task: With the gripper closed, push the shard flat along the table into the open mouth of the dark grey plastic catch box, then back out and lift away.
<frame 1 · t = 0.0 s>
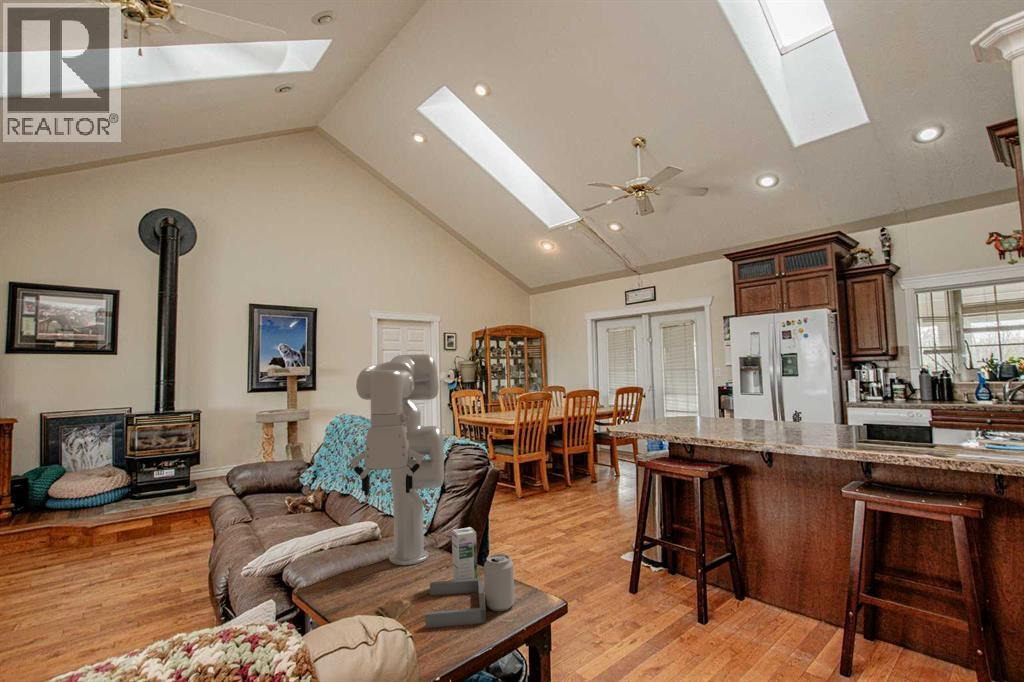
hand: (387, 493, 116), 31 cm above the table, tool pointing down, fingers open, 9 cm apart
syrup box: (465, 582, 138), on the table
can: (499, 606, 123), on the table
shard: (397, 615, 121), on the table
catch box: (449, 607, 123), on the table
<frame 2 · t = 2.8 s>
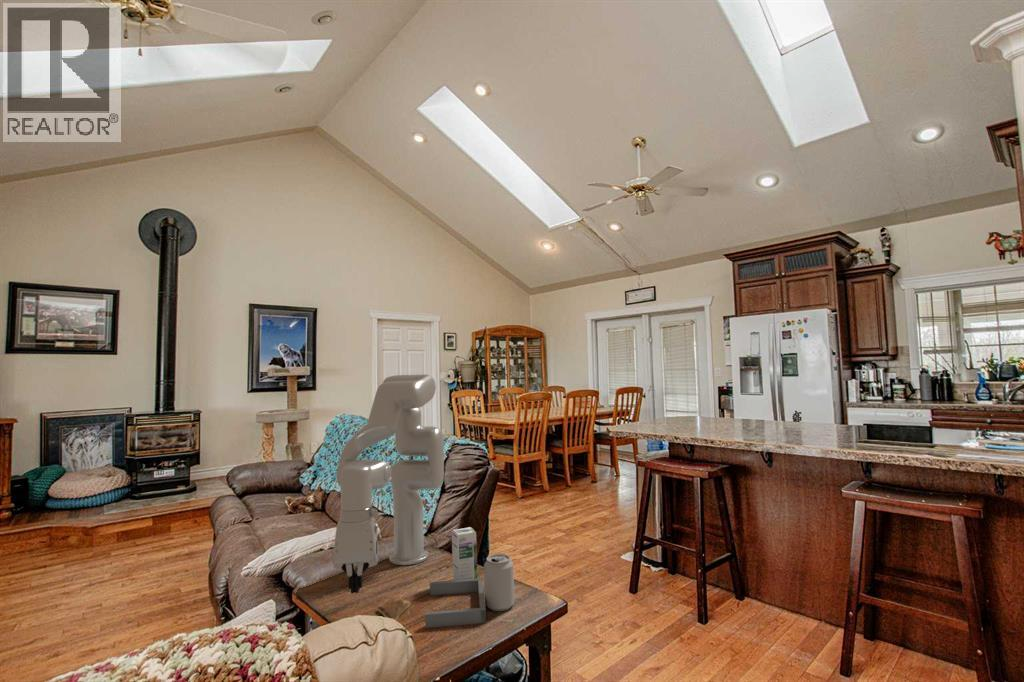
hand: (355, 590, 120), 6 cm above the table, tool pointing down, fingers closed
nothing on the table moved.
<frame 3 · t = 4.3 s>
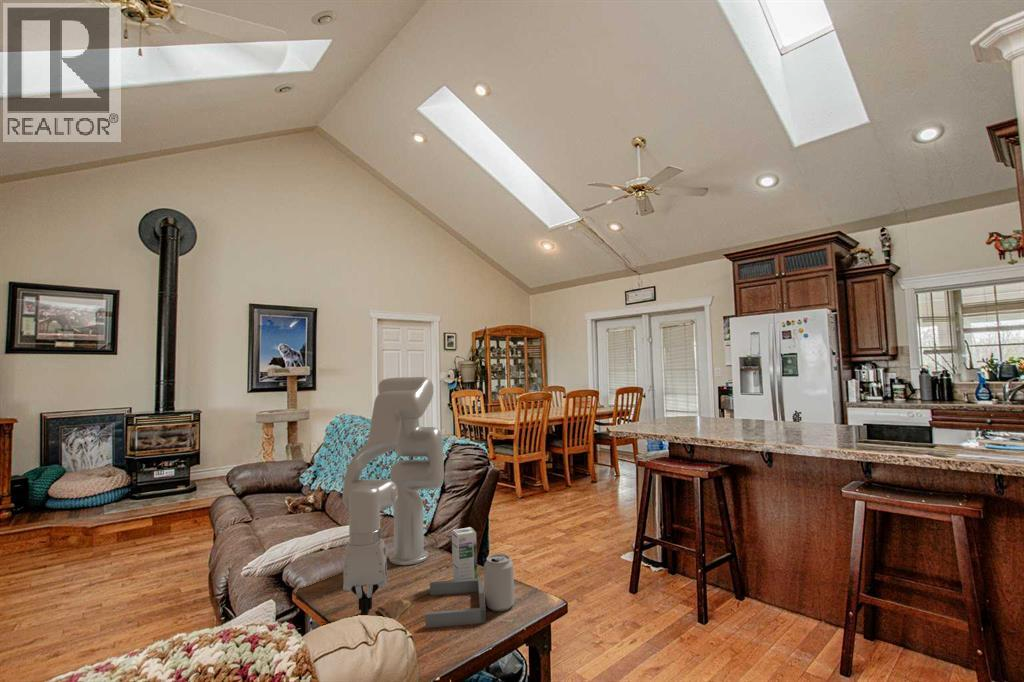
hand: (365, 612, 121), 1 cm above the table, tool pointing down, fingers closed
nothing on the table moved.
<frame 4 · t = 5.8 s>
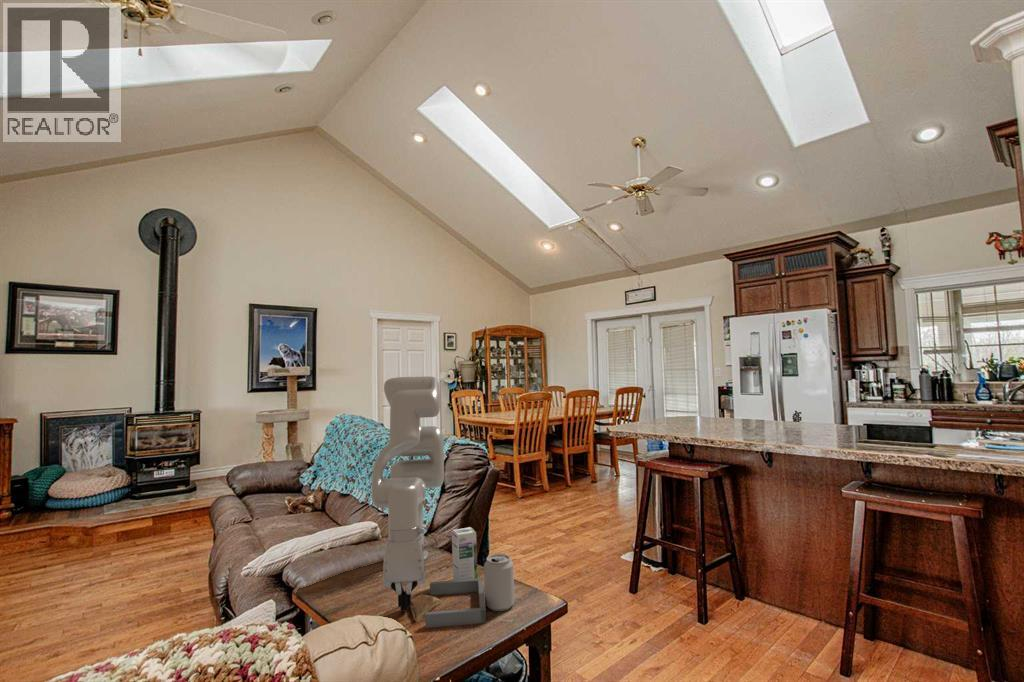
hand: (404, 608, 121), 1 cm above the table, tool pointing down, fingers closed
shard: (426, 611, 123), on the table
everything else where it was.
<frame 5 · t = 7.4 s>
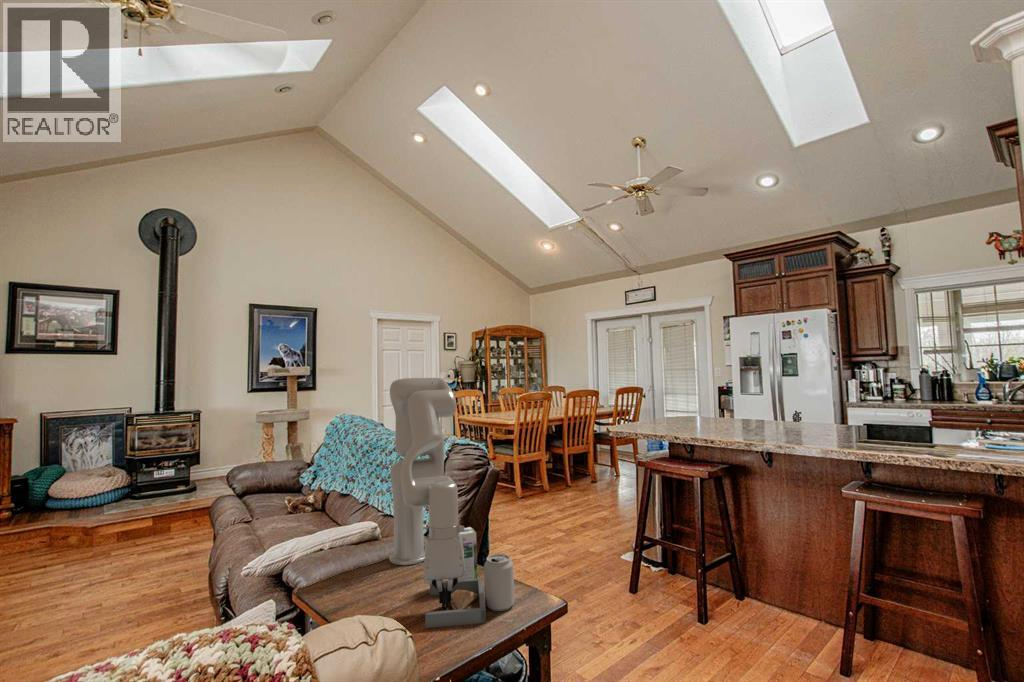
hand: (445, 605, 123), 1 cm above the table, tool pointing down, fingers closed
shard: (465, 605, 125), on the table
everything else where it was.
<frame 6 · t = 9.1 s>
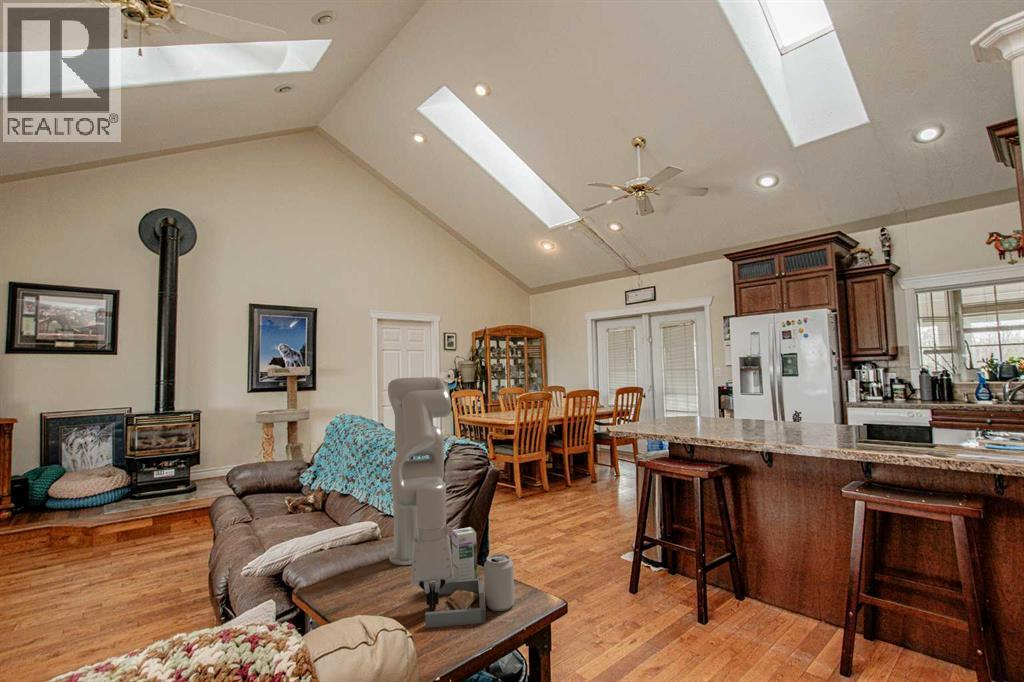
hand: (432, 606, 123), 1 cm above the table, tool pointing down, fingers closed
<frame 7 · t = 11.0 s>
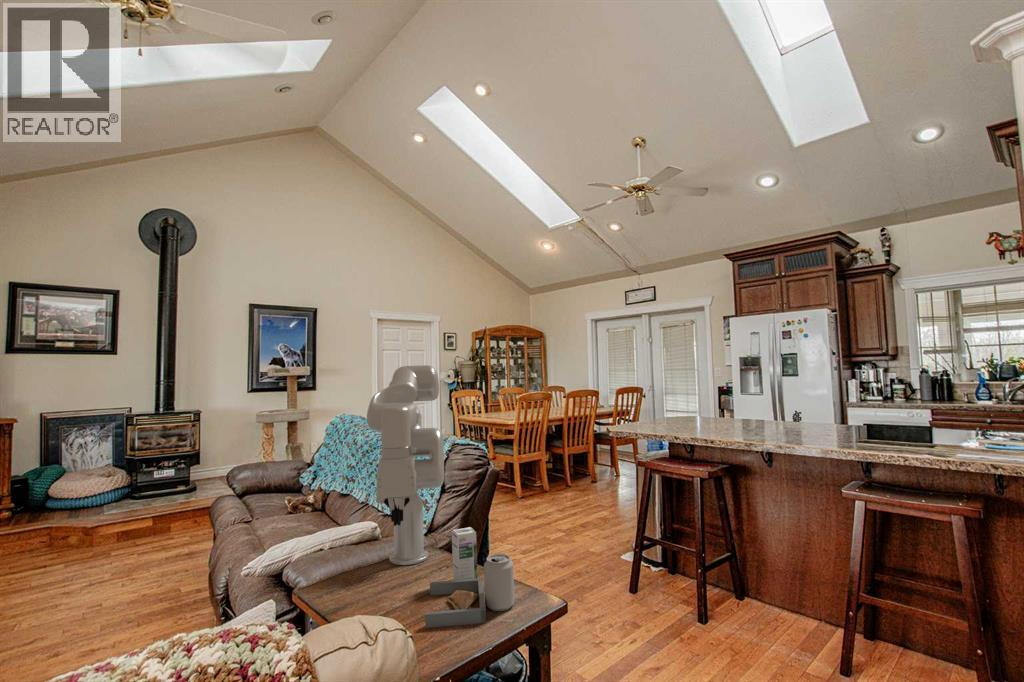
hand: (397, 523, 126), 21 cm above the table, tool pointing down, fingers closed
nothing on the table moved.
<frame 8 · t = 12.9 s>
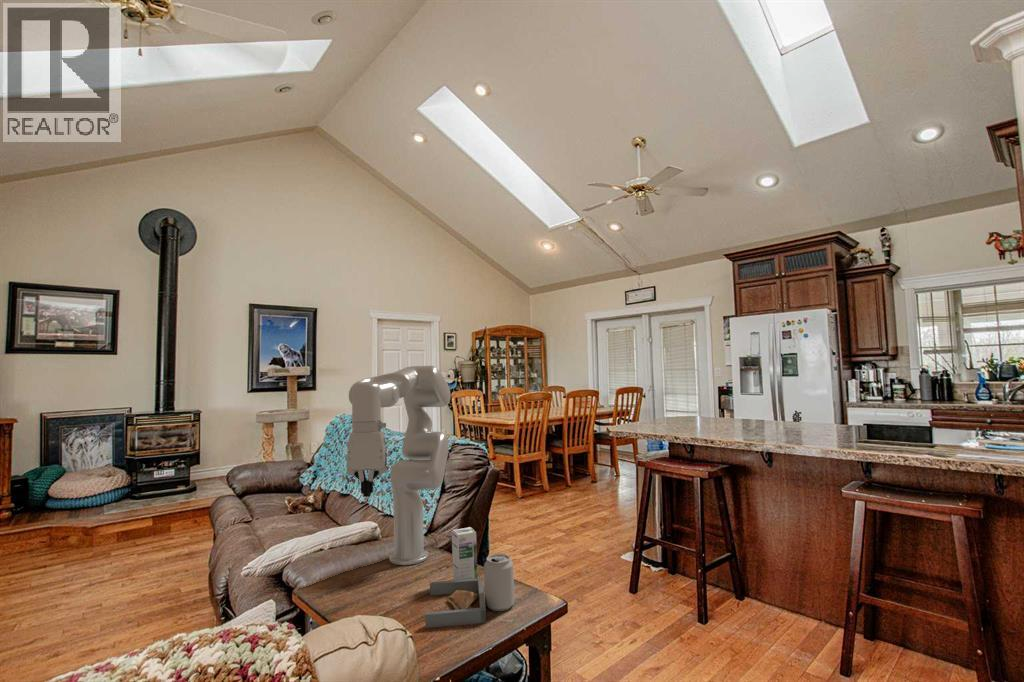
hand: (367, 495, 132), 27 cm above the table, tool pointing down, fingers closed
nothing on the table moved.
at the end: shard inside the target area on the catch box (3.5 cm from its centre), point -0.7 cm above the catch box's base; shard tilted 0° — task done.
